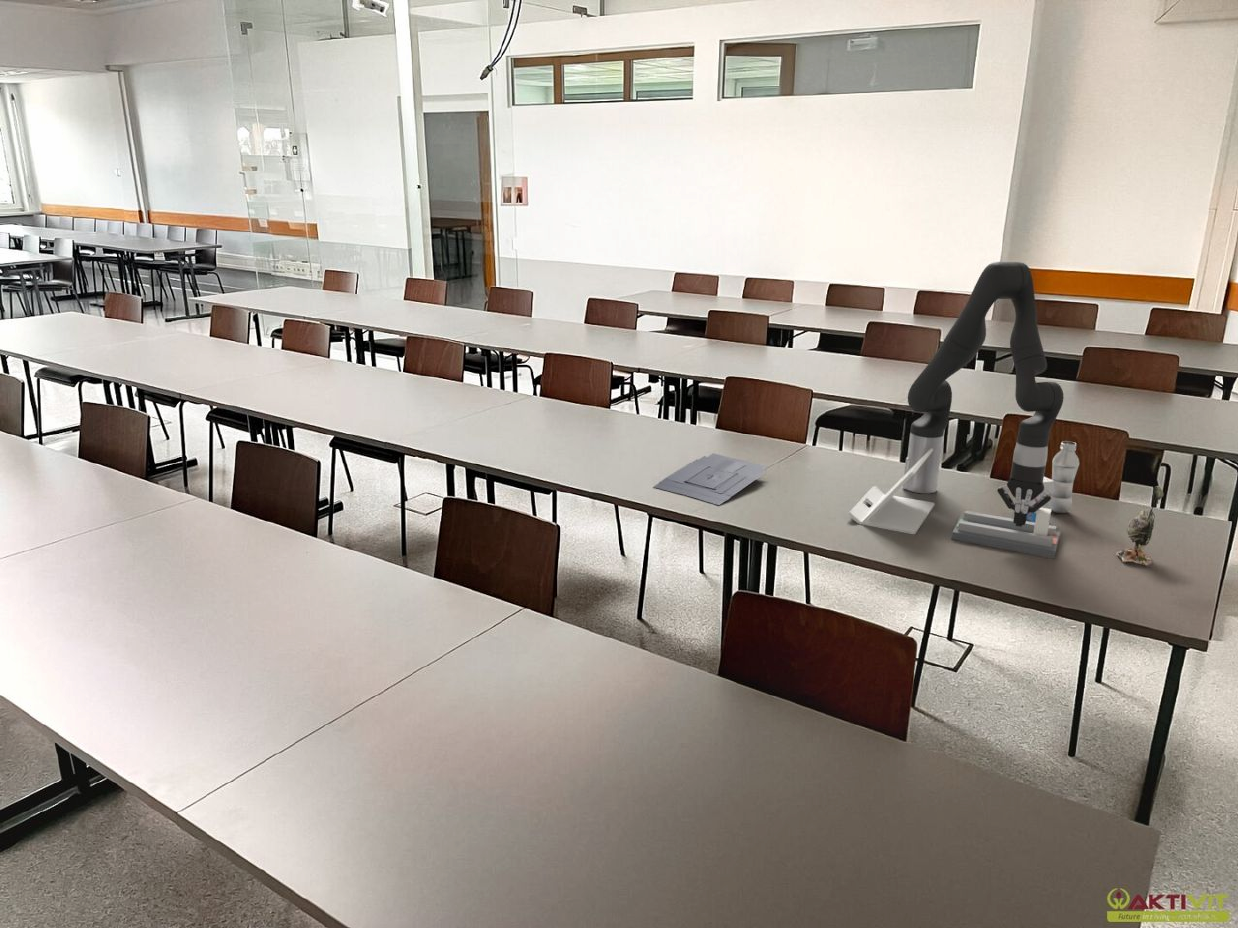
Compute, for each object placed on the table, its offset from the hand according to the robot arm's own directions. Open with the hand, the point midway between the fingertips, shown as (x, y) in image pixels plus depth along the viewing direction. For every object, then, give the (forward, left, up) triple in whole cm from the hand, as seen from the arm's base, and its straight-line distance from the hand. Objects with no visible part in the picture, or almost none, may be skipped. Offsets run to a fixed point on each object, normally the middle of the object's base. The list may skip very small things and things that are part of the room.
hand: (1019, 525), depth 222 cm
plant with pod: (+26, +3, -5) cm, 27 cm away
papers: (-85, +2, -5) cm, 86 cm away
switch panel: (-3, 0, -4) cm, 5 cm away
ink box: (+1, +20, -5) cm, 21 cm away
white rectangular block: (+5, 0, -2) cm, 5 cm away
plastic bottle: (+7, +28, -5) cm, 29 cm away
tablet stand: (-32, +4, -5) cm, 33 cm away
